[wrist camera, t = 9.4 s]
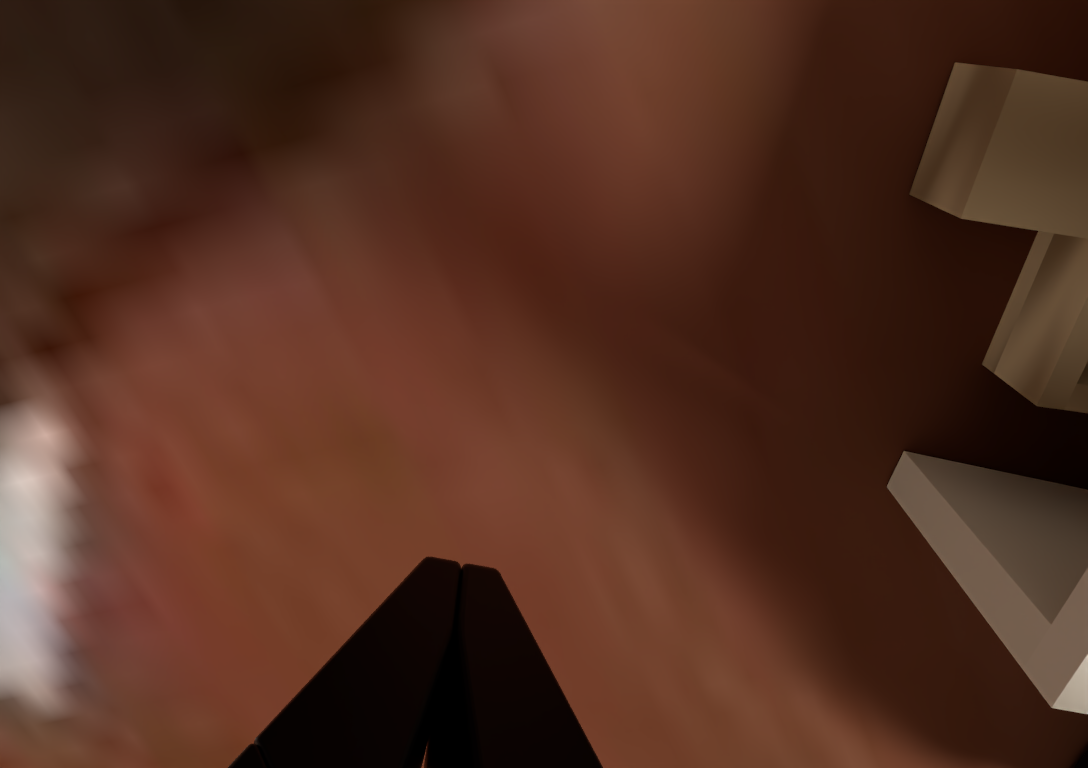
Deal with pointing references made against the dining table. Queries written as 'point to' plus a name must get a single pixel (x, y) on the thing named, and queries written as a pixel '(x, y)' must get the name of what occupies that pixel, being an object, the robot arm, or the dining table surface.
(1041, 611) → the cream flanged slab
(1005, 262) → the dining table surface
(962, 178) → the beige flat piece
